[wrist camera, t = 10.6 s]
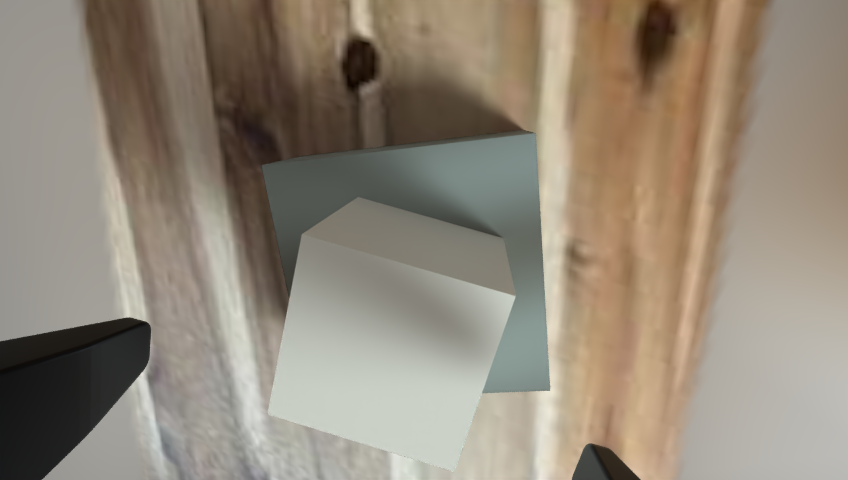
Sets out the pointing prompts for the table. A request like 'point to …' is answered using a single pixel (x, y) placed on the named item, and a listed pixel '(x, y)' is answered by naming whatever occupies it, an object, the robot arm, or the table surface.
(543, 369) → the slate block
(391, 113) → the table surface
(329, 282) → the cream block
